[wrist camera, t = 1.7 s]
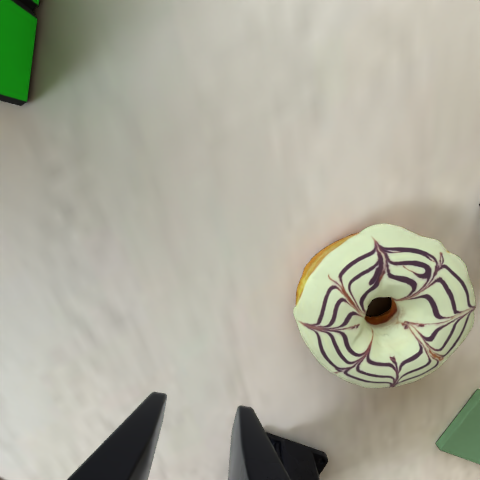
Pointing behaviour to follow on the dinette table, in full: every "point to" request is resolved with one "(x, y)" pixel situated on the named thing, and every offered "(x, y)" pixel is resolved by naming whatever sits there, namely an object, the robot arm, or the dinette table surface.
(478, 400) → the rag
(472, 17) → the dinette table surface
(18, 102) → the puzzle cube
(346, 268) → the decorated donut
